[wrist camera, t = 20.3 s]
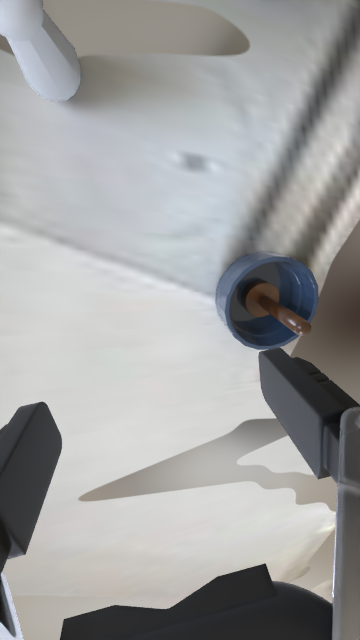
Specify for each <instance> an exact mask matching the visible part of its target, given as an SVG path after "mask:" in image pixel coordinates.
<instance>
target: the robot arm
mask: <svg viewBox="0 0 360 640" xmlns="http://www.w3.org/2000/svg"><path fill="white" fill-rule="evenodd" d="M259 369H260V380H261V389H262V393H263V396H264V398H265V401H266V402H267V404H268V405H269V407H270V408H271V410H272V411H273V413H274V414H275V416H276V417H277V419H278V420H279V422H280V423H281V425H282V426H283V428H284V429H285V431H286V432H287V434H288V435H289V437H290V438H291V440H292V441H293V443H294V444H295V446H296V447H297V449H298V450H299V452H300V453H301V455H302V456H303V458H304V459H305V460H306V462H307V463H308V465H309V466H310V468H311V469H312V471H313V472H314V474H315V475H316V477H317V478H318V479H321V478H325V477H329V476H332V478H333V479H334V480H335V482H336V483H337V504H336V526H335V549H334V571H333V593H332V604H331V603H330V602H328V601H327V600H325V599H324V598H322V597H320V596H318V595H317V594H315V593H313V592H311V591H309V590H306V589H304V588H301V587H299V586H296V585H293V584H289V583H284V582H278V581H272V580H271V577H270V575H269V572H268V569H267V566H266V563H265V564H262V565H258V566H255V567H251V568H247V569H244V570H240V571H237V572H233V573H229V574H226V575H222V576H218V577H216V578H215V579H213V580H212V581H210V582H209V583H207V584H206V585H204V586H203V587H201V588H200V589H198V590H197V591H195V592H194V593H192V594H191V595H189V596H188V597H186V598H185V599H183V600H182V601H180V602H179V603H177V604H176V605H174V606H173V607H171V608H169V609H153V608H143V607H131V606H119V605H114V606H110V607H107V608H103V609H99V610H96V611H92V612H89V613H85V614H81V615H78V616H74V617H71V618H67V619H64V621H63V627H62V632H61V637H60V640H360V405H359V404H358V403H357V402H356V401H355V400H353V399H352V398H351V397H350V396H349V395H348V394H347V393H345V392H344V391H343V390H342V389H341V388H339V387H338V386H337V385H336V384H335V383H334V382H333V381H331V380H329V378H328V377H327V376H326V375H324V374H323V373H321V372H320V370H319V369H317V368H316V367H315V366H314V365H313V364H312V363H310V362H308V361H306V360H303V359H301V358H298V357H295V358H291V357H290V356H289V355H288V354H287V353H286V352H285V351H284V350H283V349H281V348H279V347H278V348H274V349H270V350H266V351H261V352H259ZM61 449H62V439H61V434H60V432H59V430H58V428H57V425H56V423H55V421H54V419H53V417H52V415H51V412H50V410H49V408H48V406H47V404H46V403H44V402H39V403H34V404H30V405H26V406H21V407H20V408H18V410H17V411H16V413H15V414H14V416H13V417H12V419H11V420H10V422H9V423H8V424H7V425H5V426H4V427H3V428H2V429H1V430H0V640H24V638H23V634H22V631H21V627H20V624H19V620H18V617H17V613H16V610H15V607H14V604H13V600H12V596H11V593H10V589H9V586H8V583H7V579H6V577H5V575H4V574H3V572H2V571H3V568H4V565H5V563H6V560H7V559H10V558H14V557H18V556H22V555H25V554H26V551H27V549H28V546H29V543H30V540H31V537H32V534H33V531H34V528H35V525H36V523H37V520H38V517H39V514H40V511H41V508H42V505H43V502H44V499H45V497H46V494H47V491H48V488H49V485H50V482H51V479H52V476H53V473H54V471H55V468H56V465H57V462H58V459H59V456H60V453H61Z"/></svg>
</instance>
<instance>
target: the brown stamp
mask: <svg viewBox="0 0 360 640" xmlns="http://www.w3.org/2000/svg"><path fill="white" fill-rule="evenodd" d="M241 302H242V305H243V307H244V308H245V309H246V310H247V311H248V312H249V313H250V314H251V315H253V316H256V317H264V316H267V315H269V314H271V315H272V316H273V317H275V318H276V319H277V320H279V321H280V322H281V323H283V324H284V325H285V326H287V327H288V328H289V329H291V330H292V331H293V332H295V333H296V334H297V335H300V336H305V335H307V334H309V333H310V331H311V325H310V323H309V322H308V321H306V320H305V319H303V318H302V317H300V316H298V315H297V314H295V313H294V312H292V311H291V310H289V309H287V308H286V307H284V306H283V305H281V304H279V292H278V290H277V288H276V287H275V286H273V285H272V284H270V283H268V282H266V281H263V280H257V281H253V282H251V283H250V284H248V285H247V286H246V287H245V289H244V290H243V292H242V296H241Z"/></svg>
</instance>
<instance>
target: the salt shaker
mask: <svg viewBox="0 0 360 640" xmlns="http://www.w3.org/2000/svg"><path fill="white" fill-rule="evenodd" d="M0 34H1V35H3V36H5V37H7V39H8V42H9V44H10V46H11V48H12V50H13V52H14V54H15V56H16V59H17V61H18V63H19V65H20V67H21V69H22V72H23V74H24V76H25V78H26V81H27V83H28V84H29V85H30V86H31V87H32V88H33V89H34V91H35V92H36V93H37V94H38V95H39V96H41V97H43V98H46V99H48V100H50V101H52V102H60V101H66V100H68V99H69V98H70V97H72V96H73V95H74V94H75V93H76V91H77V89H78V87H79V84H80V82H81V77H80V63H79V60H78V57H77V54H76V51H75V48H74V47H73V46H72V45H71V43H70V42H69V41H68V40H67V38H66V37H65V36H64V35H63V34H62V32H61V31H60V30H59V29H58V27H57V26H56V25H55V23H54V22H53V21H52V20H51V18H50V17H49V16H48V15H47V13H46V12H45V11H44V10H43V1H42V0H0Z"/></svg>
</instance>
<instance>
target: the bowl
mask: <svg viewBox="0 0 360 640" xmlns="http://www.w3.org/2000/svg"><path fill="white" fill-rule="evenodd" d="M257 280H263V281H266V282H268V283H270V284H272V285H273V286H275V287H276V288H277V290H278V292H279V304H281V305H283V306H284V307H286V308H287V309H289V310H291V311H292V312H294V313H295V314H297V315H298V316H300V317H302V318H303V319H305V320H306V321H308V322H309V323H310V322H311V320H312V319H313V317H314V315H315V312H316V308H317V304H318V299H319V297H318V285H317V283H316V280H315V278H314V276H313V273H312V272H311V271H310V270H309V269H308V268H307V267H306V266H305V265H304V264H303V263H302V262H300V261H297V260H295V259H293V258H291V257H287V256H284V255H280V254H276V253H272V252H256V253H252V254H249V255H245V256H244V257H242V258H241V259H239V260H237V261H236V262H234V263H233V264H232V265H231V266H230V267H229V268H228V270H227V271H226V272H225V273H224V274H223V276H222V278H221V280H220V283H219V285H218V287H217V292H216V307H217V311H218V315H219V317H220V318H221V320H222V321H223V323H224V325H225V326H226V327H227V328H228V330H229V331H230V332H231V334H232V335H233V336H234V337H235V338H236V339H237V340H238V341H240V342H241V343H242V344H243V345H245V346H248V347H251V348H254V349H258V350H267V349H274V348H278V347H281V346H284V345H286V344H288V343H290V342H291V341H293V340H294V339H296V338H297V337H298V336H299V335H297V334H296V333H295V332H293V331H292V330H291V329H289V328H288V327H287V326H285V325H284V324H283V323H281V322H280V321H279V320H277V319H276V318H275V317H273V316H272V315H271V314H269V315H267V316H264V317H256V316H253V315H251V314H250V313H249V312H248V311H247V310H246V309H245V308H244V307H243V305H242V302H241V296H242V292H243V290H244V289H245V287H246V286H247V285H248V284H250V283H251V282H253V281H257Z"/></svg>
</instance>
